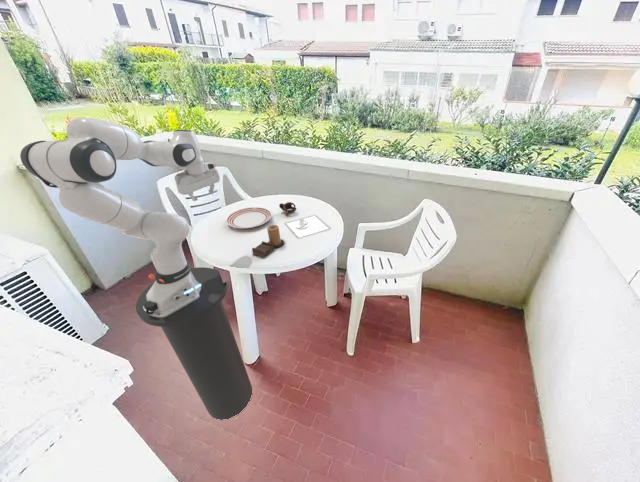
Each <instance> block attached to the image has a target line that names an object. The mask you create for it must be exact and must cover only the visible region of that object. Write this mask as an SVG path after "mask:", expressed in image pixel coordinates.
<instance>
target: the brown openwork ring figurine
mask: <svg viewBox="0 0 640 482" xmlns="http://www.w3.org/2000/svg"><path fill="white" fill-rule="evenodd" d="M278 206H279V208H280V209H281V210H282V212H285V216H289V215H291V214H294V213H295V212H296V210H297V206H296V205H295V203H293V202H292V201H291V202H290V201H288V202H285V203H281V202H280V203H279V205H278Z"/></svg>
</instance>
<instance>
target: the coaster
mask: <svg viewBox="0 0 640 482" xmlns="http://www.w3.org/2000/svg"><path fill="white" fill-rule="evenodd" d="M267 243H270V241H269V240H268V242H267ZM284 245H285V241H284V240H283V239H281V244H280V245H278V246H273V247H274V249H280V248H281V247H283V246H284Z"/></svg>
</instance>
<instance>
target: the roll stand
mask: <svg viewBox="0 0 640 482" xmlns="http://www.w3.org/2000/svg"><path fill="white" fill-rule="evenodd" d="M274 251H275V248H274V247H273V244H270V243H268V242H267V241H261V243H260V244H259V245H257V246H256V247H252V248H251V252H252V255H253V256H257V257H259V258H262V259H264V258H266V257H267V256H268V255H270V254H271V253H272V252H274Z"/></svg>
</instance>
